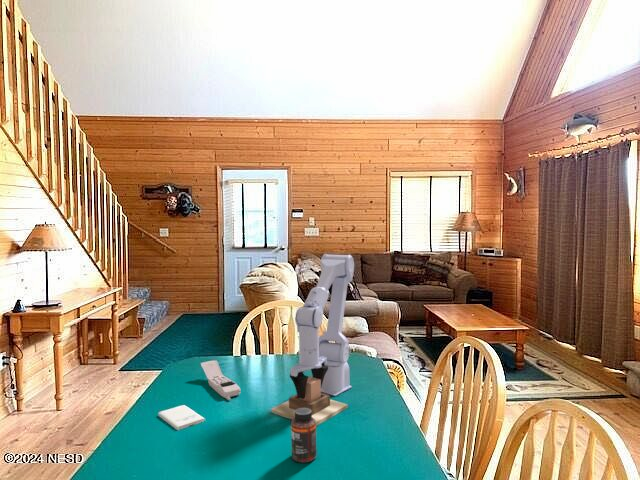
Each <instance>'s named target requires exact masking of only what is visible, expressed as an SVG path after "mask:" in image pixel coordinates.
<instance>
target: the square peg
mask: <svg viewBox="0 0 640 480" xmlns="http://www.w3.org/2000/svg"><path fill="white" fill-rule="evenodd" d="M307 376H308V380H307V383H306V393H305V398H304V399H302V398H299V399H300V400H303V401H307V402H310V403H312V402H314V401H316V400H318V399H320V398H321V393H322V392H321V379H317V378H313V376H309V375H307Z"/></svg>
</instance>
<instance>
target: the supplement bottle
mask: <svg viewBox="0 0 640 480" xmlns="http://www.w3.org/2000/svg"><path fill="white" fill-rule="evenodd" d="M290 433H291V437H290V438H291V439H290V440H291V457H292V459H293V460H294V461H296V462H298V463H309V462H312V461H314V460H315V459H316V457H317V451H318V450H317V426H316V421H315V419H314V418H312V411H311V409H309V408H299V409H297V410H295V418H294V419H293V420H291V422H290Z"/></svg>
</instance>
